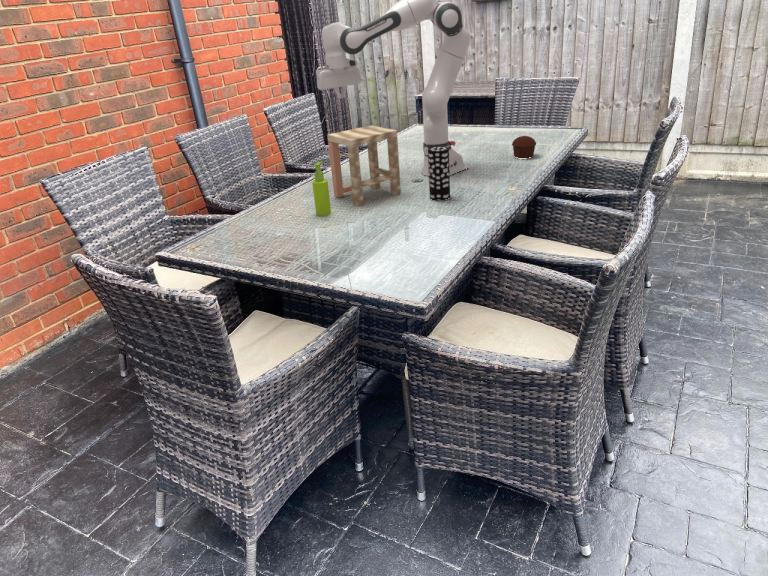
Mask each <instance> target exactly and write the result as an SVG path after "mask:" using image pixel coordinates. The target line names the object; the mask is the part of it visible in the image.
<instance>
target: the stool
mask: <svg viewBox="0 0 768 576" xmlns="http://www.w3.org/2000/svg"><path fill="white" fill-rule="evenodd" d="M326 136H327V142H335V143H338V144H339V145H343V146H346V147H347V151H348V152H347V154H348V164H349V173H350V184H351V185H352V191H351V193H352V203H353V204H352V205H353V206H354V207H355V206H356V207H361V206H364V204H365V203H364V195H363V194H364V192H363V188H364V187H365V188H366V187H369V186H370V188H371V189H378V188H381V183H384V182H387V181H389V184H390V194H391V196H392V195H393V196H395V195H396V196H399V195H401V194H402V191H401V190H402V189H401V173H400V160H399V146H398V145H399V143H398V130H397V129H393V128H387V127H382V126H376V125H367V126H362V127H358V128H357V127H356V128H352V129H348V130H342V131H339V132H337V131H336V132H333V133H328V134H327V135H326ZM384 140H386V142H387V155H388V159H387V160H388V168H389V169H385V168H381V167H380V165H379V164H380V163H379V152H378V142H379V141H384ZM362 145H367V157H368V168H369V179H366V180H365V179H364V180H362V172H361V171H362V170H361V161H360V153H359V152H360V149H359V146H362ZM380 175H381V176H380Z"/></svg>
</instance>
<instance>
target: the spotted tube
mask: <svg viewBox="0 0 768 576" xmlns="http://www.w3.org/2000/svg"><path fill="white" fill-rule="evenodd" d="M428 166H429V176H428V183H429V184H428V185H429V186H428V187H429V189H428V190H429V200H431V199H432V200H431V201H433V200H445V199H448V198H450V199H451V177H450V167H449V148H448V147H444V146H437V147H431V148H429V149H428ZM448 200H449V199H448ZM445 201H446V200H445Z"/></svg>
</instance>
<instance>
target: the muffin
mask: <svg viewBox="0 0 768 576" xmlns="http://www.w3.org/2000/svg"><path fill="white" fill-rule="evenodd" d="M536 146H537V142H536V140H535V139H534V138H533V137H531V136H529V135H528V136H527V135H521V136H518V137H516V138H514V140H513V141H512V143H511V147H512V149H513V157H514V156H515V157H518V158H529V157H532V156H533V157H534V154H535V150H536V149H535V148H536ZM515 157H514V158H515Z"/></svg>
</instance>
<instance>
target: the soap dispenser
mask: <svg viewBox="0 0 768 576" xmlns="http://www.w3.org/2000/svg"><path fill="white" fill-rule="evenodd" d="M324 163H325V161H316V162H315V163H314V164H313V167H315V171H314V180H312V183H311V184H312V191H313V198H314V199H313V200H314V206H315V208H314V209H315V214H316V216H319V215H321V216H322V217H323V215H325V216H329V215H331V214H332V209H331V208H332V207H331V201H330V200H331V199H330V191H329V182H328V180H327V179H326V178H325V176H324V171H322V170H321V169H322V168H321V166H322V164H324ZM330 213H331V214H330ZM328 214H329V215H328ZM321 216H320V217H321Z"/></svg>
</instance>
